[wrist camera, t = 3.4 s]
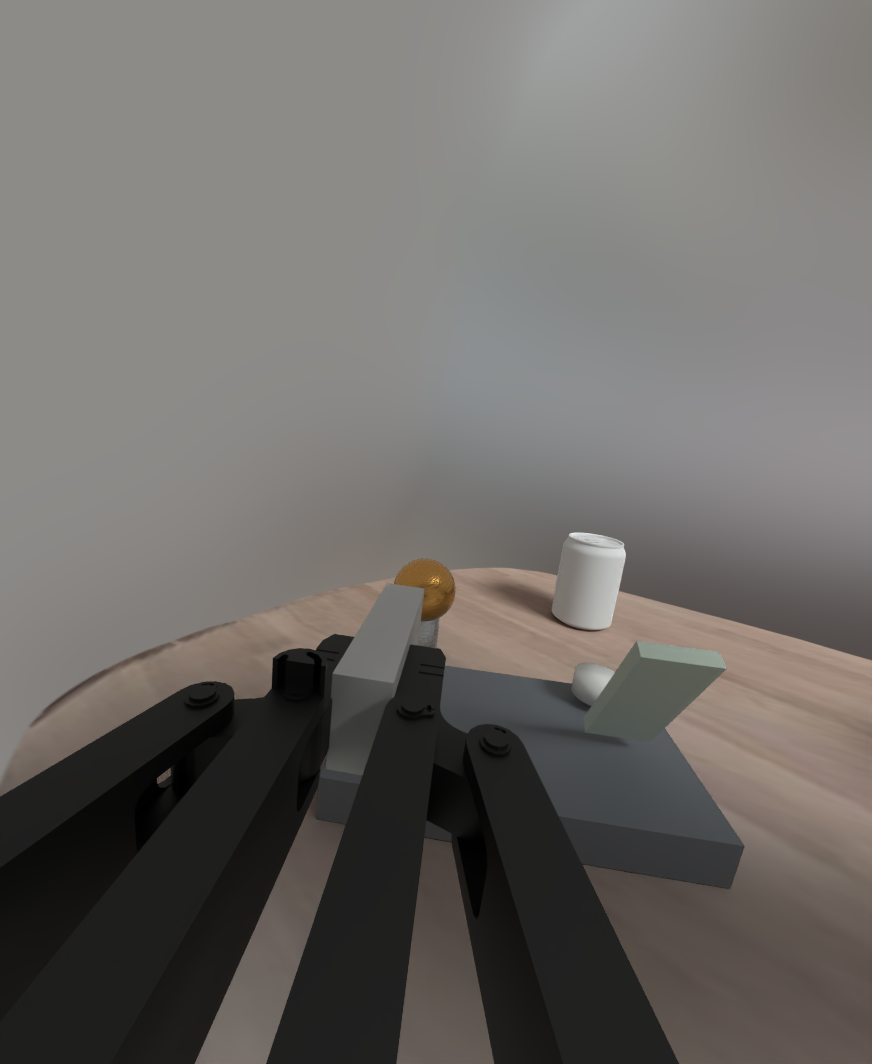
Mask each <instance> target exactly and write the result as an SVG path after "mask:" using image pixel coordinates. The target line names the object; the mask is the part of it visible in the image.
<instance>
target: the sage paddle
mask: <svg viewBox="0 0 872 1064" xmlns="http://www.w3.org/2000/svg"><path fill="white" fill-rule="evenodd" d="M726 669H727V668H726V666H725V664H724V661H723V659H722V657H721V654H720V652H716V651H708V650H701V649H694V648H686V647H679V646H671V645H664V644H656V643H649V642H642V641H636V643H635V644H634V646H633V647H632V649H631V650H630V651H629V653H628V654H627V656H626V657H625V659H624V660H623V662H622V663H621V664H620V666H619V667H618V669H617V670H616V672H615V673H614V675H613V676H612V677H611V679H610V680H609V682H608V683H607V685H606V686H605V688H604V689H603V691H602V692H601V693H600V695H599V696H598V698H597V699H596V701H595V702H594V704H593V705H592V706H591V708H590V709H589V711H588V712H587V714H586V715H585V717H584V718H583V719H584V726H585V733H592V734H599V735H606V736H612V737H619V738H626V739H632V740H639V741H646V742H651V741H652V740H653V739H654V738H655V737H656V736H657V735H658V734H659V733H660V732H661V731H662V730H663V729H664V728H665V727H666V726H667V725H668V724H669V723H670V722H671V721H673V720H674V719H675V718H676V717H677V716H678V715H679V714H680V713H681V712H682V711H683V710H684V709H685V708H686V707H687V706H688V705H689V704H690V703H691V702H692V701H694V700H695V699H696V698H697V697H698V696H699V695H700V694H701V693H702V692H703V691H704V690H705V689H706V688H707V687H708V686H709V685H710V684H711V683H712V682H713V681H714V680H716V679H717V678H718V677H719V676H720V675H721V674H722V673H723V672H724V671H725V670H726Z"/></svg>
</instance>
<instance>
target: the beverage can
mask: <svg viewBox="0 0 872 1064" xmlns="http://www.w3.org/2000/svg"><path fill="white" fill-rule="evenodd" d="M623 547H624V543H623V542H621V541H619V540H616V539H613V538H610V537H606V536H602V535H596V534H590V533H570V534H569V538H568V539H567V540H566V541H565V542H564V544H563V549H562V554H561V560H560V565H559V571H558V576H557V582H556V587H555V593H554V599H553V604H552V613H553V615H554V616H555V617H557V618H558V619H559V620H561V621H562V622H563V623H565V624H567V625H569V626H572V627H575V628H578V629H583V630H601V629H606V628H608V627H609V626H610V625H611V622H612V618H613V613H614V608H615V604H616V599H617V595H618V590H619V585H620V581H621V576H622V572H623V567H624V563H625V558H626V552H625V550H624V548H623Z"/></svg>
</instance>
